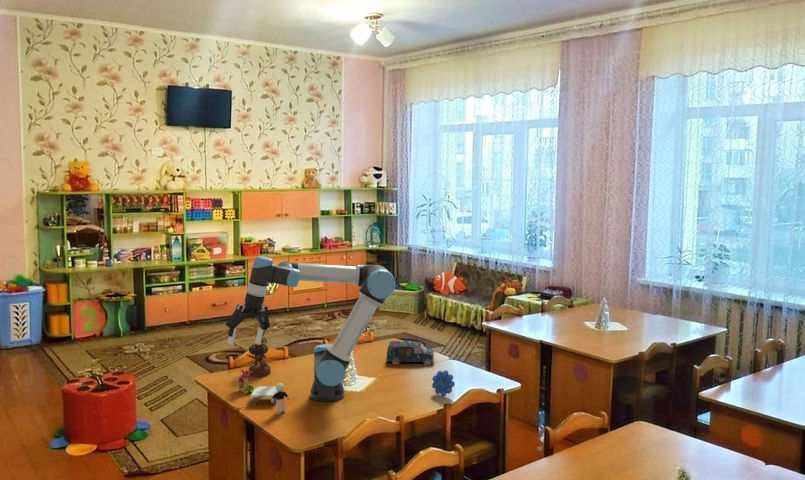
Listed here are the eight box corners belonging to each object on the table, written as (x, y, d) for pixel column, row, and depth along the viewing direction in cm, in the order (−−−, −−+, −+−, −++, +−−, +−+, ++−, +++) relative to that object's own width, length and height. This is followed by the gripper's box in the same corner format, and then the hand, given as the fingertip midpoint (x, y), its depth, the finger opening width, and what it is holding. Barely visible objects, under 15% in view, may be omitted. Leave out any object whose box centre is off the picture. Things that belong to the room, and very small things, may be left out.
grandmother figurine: (285, 409, 277) (285, 380, 275) (290, 412, 274) (290, 382, 272) (269, 413, 272) (269, 384, 270) (274, 416, 269) (273, 386, 267)
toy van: (433, 365, 339) (434, 346, 337) (385, 364, 340) (385, 345, 339) (433, 359, 349) (434, 340, 348) (387, 358, 350) (387, 339, 349)
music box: (278, 373, 323) (275, 334, 319) (261, 381, 314) (257, 341, 310) (257, 367, 332) (253, 329, 328) (240, 374, 323) (236, 335, 319)
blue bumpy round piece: (459, 396, 294) (459, 369, 293) (451, 400, 289) (451, 373, 288) (437, 390, 301) (437, 365, 300) (429, 394, 296) (429, 368, 294)
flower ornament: (234, 397, 296) (247, 393, 290) (227, 373, 297) (239, 369, 292) (245, 393, 301) (257, 389, 296) (238, 370, 302) (250, 365, 297)
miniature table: (280, 396, 292) (280, 386, 291) (277, 405, 281) (277, 395, 280) (255, 396, 292) (255, 386, 291) (251, 405, 281) (250, 395, 280)
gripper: (274, 292, 280) (263, 340, 282) (224, 289, 261) (212, 341, 263) (285, 297, 275) (273, 346, 277) (235, 295, 257) (223, 347, 258)
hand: (244, 344), depth 270 cm, fingers open, 13 cm apart
